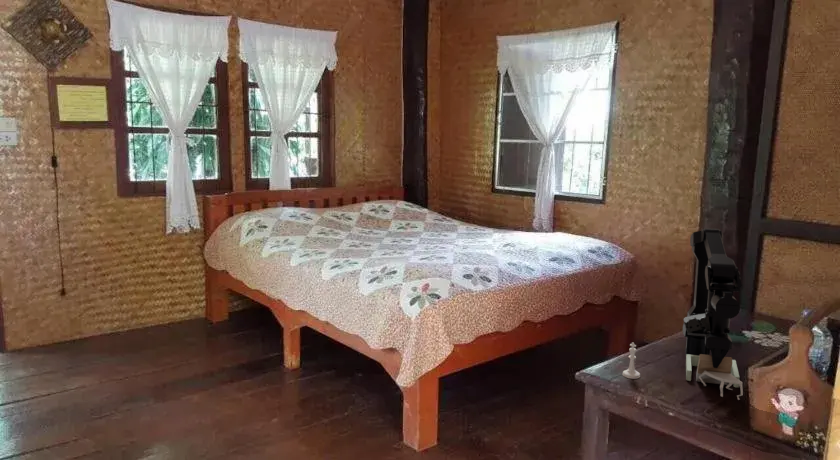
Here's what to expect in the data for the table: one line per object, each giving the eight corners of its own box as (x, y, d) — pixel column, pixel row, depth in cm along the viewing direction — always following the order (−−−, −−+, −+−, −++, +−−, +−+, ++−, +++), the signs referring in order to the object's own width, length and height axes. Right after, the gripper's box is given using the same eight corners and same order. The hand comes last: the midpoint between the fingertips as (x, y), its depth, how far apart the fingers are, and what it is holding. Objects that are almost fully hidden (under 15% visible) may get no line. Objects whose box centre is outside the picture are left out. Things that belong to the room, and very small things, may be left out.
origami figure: (746, 391, 171) (748, 374, 170) (741, 402, 164) (743, 385, 163) (700, 381, 177) (701, 365, 177) (693, 391, 171) (694, 374, 170)
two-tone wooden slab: (696, 381, 177) (699, 360, 170) (696, 375, 179) (699, 353, 172) (727, 384, 175) (732, 363, 168) (726, 378, 176) (731, 357, 169)
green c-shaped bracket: (686, 380, 178) (686, 370, 178) (685, 363, 190) (686, 354, 190) (738, 387, 173) (739, 377, 172) (734, 369, 185) (735, 360, 185)
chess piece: (626, 370, 185) (628, 338, 184) (642, 374, 182) (644, 342, 180) (619, 375, 181) (621, 343, 180) (636, 380, 178) (638, 346, 177)
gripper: (686, 296, 180) (682, 347, 183) (686, 314, 163) (682, 370, 166) (729, 300, 176) (724, 352, 179) (734, 318, 159) (729, 376, 162)
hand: (714, 362), depth 171 cm, fingers open, 8 cm apart
